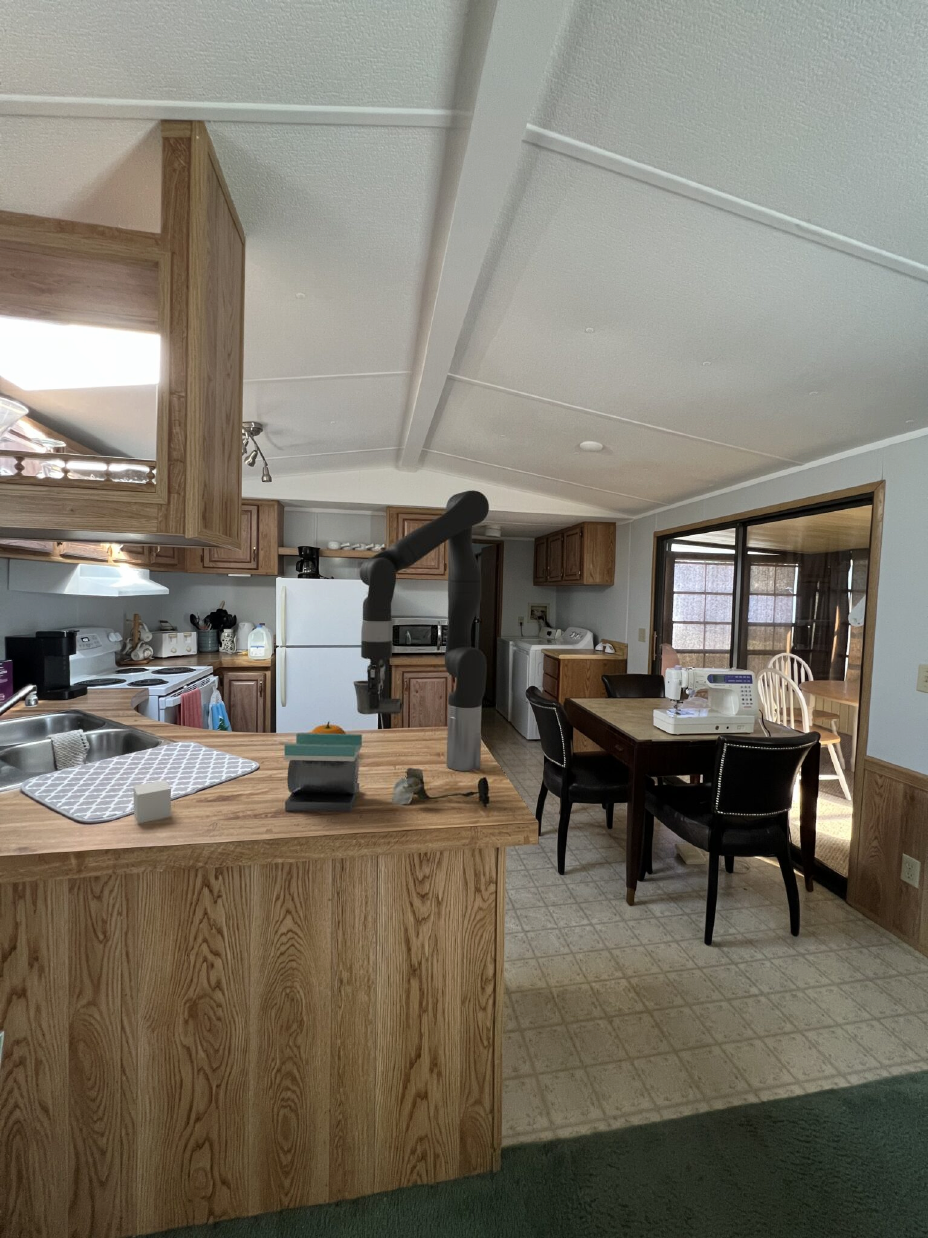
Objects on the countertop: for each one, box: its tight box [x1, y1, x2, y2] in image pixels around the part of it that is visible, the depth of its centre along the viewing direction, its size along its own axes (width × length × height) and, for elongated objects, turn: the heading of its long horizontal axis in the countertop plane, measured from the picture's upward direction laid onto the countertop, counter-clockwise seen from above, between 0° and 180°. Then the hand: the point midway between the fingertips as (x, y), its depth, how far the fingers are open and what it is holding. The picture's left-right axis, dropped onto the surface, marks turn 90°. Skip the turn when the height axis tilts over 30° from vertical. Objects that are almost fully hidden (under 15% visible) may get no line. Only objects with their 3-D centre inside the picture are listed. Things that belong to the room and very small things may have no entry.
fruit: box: [310, 721, 347, 734], centre depth 154 cm, size 12×12×10 cm
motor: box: [283, 732, 363, 813], centre depth 121 cm, size 15×12×14 cm
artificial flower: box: [391, 767, 490, 808], centre depth 123 cm, size 9×22×10 cm, turn 80°
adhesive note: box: [133, 779, 172, 825], centre depth 111 cm, size 6×6×6 cm
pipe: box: [352, 680, 404, 715], centre depth 134 cm, size 6×13×8 cm, turn 79°
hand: (375, 706), depth 134 cm, fingers closed on pipe, 5 cm apart
